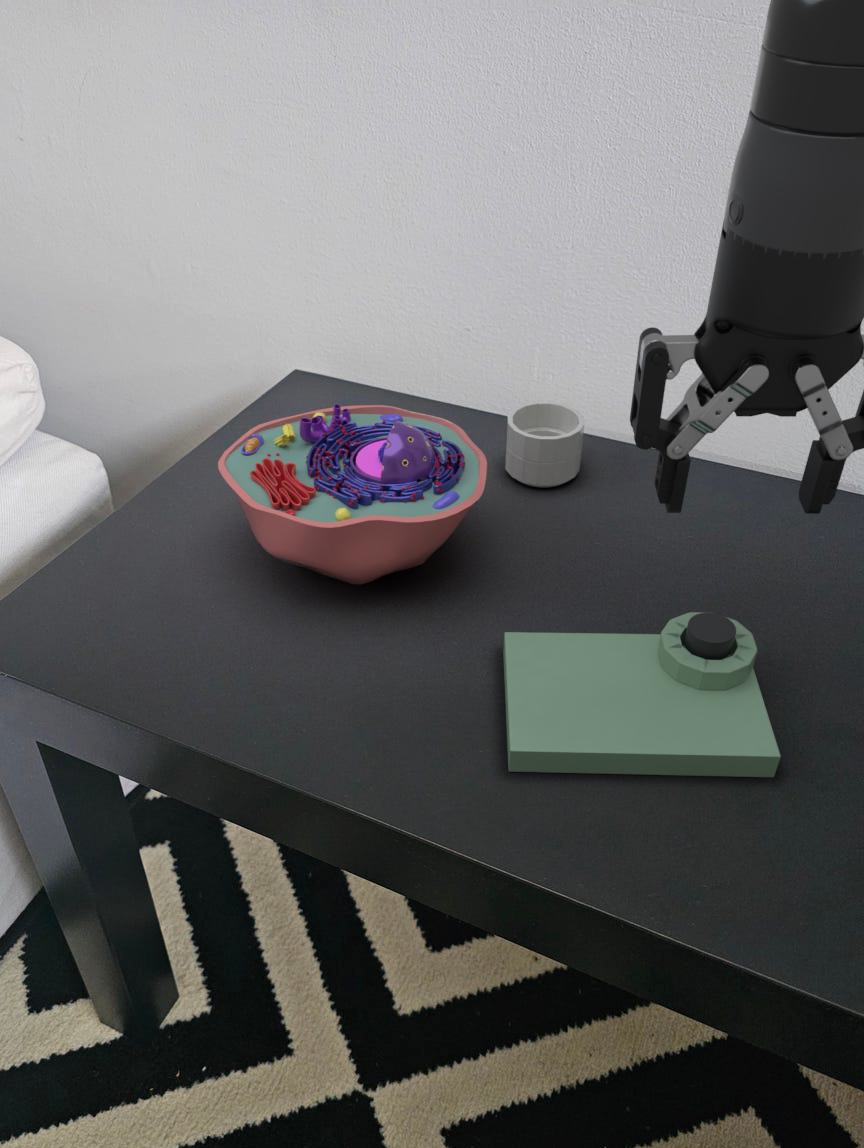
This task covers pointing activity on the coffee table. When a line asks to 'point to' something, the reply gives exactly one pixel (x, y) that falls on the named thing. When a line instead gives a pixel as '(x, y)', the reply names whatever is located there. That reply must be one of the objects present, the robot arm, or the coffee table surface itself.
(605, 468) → the coffee table surface
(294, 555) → the cell model
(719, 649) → the button
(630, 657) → the scale
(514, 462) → the white cup
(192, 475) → the coffee table surface
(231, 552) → the coffee table surface
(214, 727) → the coffee table surface
